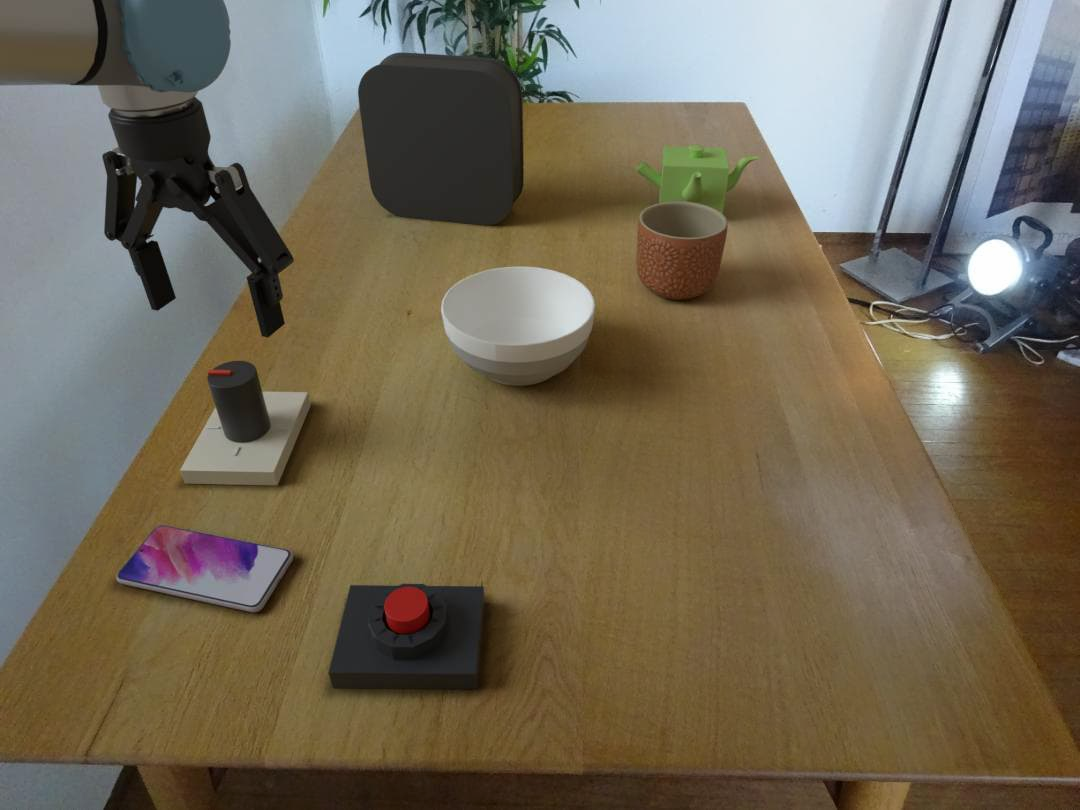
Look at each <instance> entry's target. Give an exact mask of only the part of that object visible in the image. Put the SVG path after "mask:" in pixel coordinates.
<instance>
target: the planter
mask: <svg viewBox="0 0 1080 810" xmlns="http://www.w3.org/2000/svg"><path fill="white" fill-rule="evenodd" d="M636 232H637V233H636V234H637V235H636V236H637V237H636V261H635V262H636V272H637V277H638V278H639V281H640V282H641V284H642V285H643V286H644V287H645V289H647V290H648V291H649V292H650V293H652V294H654V295H655V296H658V297H660V298H663V299H666V300H670V301H671V300H672V301H687V300H691V299H694V298H697V297H699V296H702V295H703V294H705V293H707V291H709V290H710V289H712V287H713V286H714V284H715V283H716V281H717V279H718V276H719V274H720V270H721V266H722V265H721V264H722V260H723V254H724V251H725V245H726V241H727V240H726V239H727V234H728V219H727V217H726V216H725V215H724V213H723V214H722V213H721V212H719V211H718V210H716V209H714V208H712V207H709V206H706V205H703V204H698V203H693V202H683V201H672V202H663V203H654V204H652V205H649V206H647V207H645V208H644V209H643V210H642V211H640V214H639V216H638V221H637V231H636Z"/></svg>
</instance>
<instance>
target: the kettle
mask: <svg viewBox="0 0 1080 810" xmlns="http://www.w3.org/2000/svg"><path fill="white" fill-rule="evenodd" d="M759 158H760V157H758V156H753V155H749V156H744V157H742V158H741V159H739V161H738V162H737V163H736V165H735V168H734V169H733V170H732V171H731V172H730V165H729V164H730V163H729V158H728V153H727V148H726V147H710V146H709V147H707V146H702V145H699V144H692V145H689V146H687V145H686V146H683V145H663V148H662V159H661V169H660V172H658V171H657V170H655V169H654V168H653V167H652V166H651V165H649V164H648V163H647V162H646V161H645V160H644V161H641V162H640V163H639V164H638V166H637V168H636V169H635V172H637V173H638V174H639V175H640V176H642V177H643V178H645V179H646V180H647V181H648V182H650V183H651V184H652V185H653V186H655V187H656V188H658V189H659V191H658V194H659V195H658V196H659V197H658V198H659V199H658V200H659V203H663V202H672V201H683V202H693V203H698V204H703V205H706V206H709V207H712V208H714V209H716V210H718V211H719V212H721V213H722V214H723V215H724V208H725V202H726V195H727V193H729V192H730V191H731V190H733V189H734V188H735V187H736V186H737V184H738V182H739V180H740V178H741V176H742V174H743V172H744V170H745V169H746V167H747V166H748V165H749V164H750V163H751V162H753V161H756V160H758V159H759Z"/></svg>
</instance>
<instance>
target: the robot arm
mask: <svg viewBox="0 0 1080 810" xmlns="http://www.w3.org/2000/svg"><path fill="white" fill-rule="evenodd" d="M230 22H231V21H230V16H229V12H228V9H227V5H226V3H225V1H224V0H0V86H53V85H55V86H56V85H57V86H58V85H64V86H67V85H68V86H84V87H85V86H90V87H91V86H97V89H98V91H99V95H100V97H101V100H102V101H101V102H102V103H103V104H104V105H105V106H106V107H108V108H110V109H109V112H108V115H107V116H108V120H109V123H110V125H111V127H112V128H111V129H112V131H113V134H114V138H115V140H116V141H115V142H116V143H117V147H115V148H113V149H111V150H108V151H106V152H104V153H103V154H102V156H101V157H102V161H103V165H104V170H105V173H106V188H105V190H106V191H105V209H104V210H105V212H104V226H103V227H104V229H103V233H104V236H105V237H106V239H107V240H109V241H111V242H113V241H116V240H117V241H118V242H120V244H121V246H122V247H123V248H124V249H125V250H127V251H128V254H129V257H130V259H131V262H132V265H133V269H134V271H135V273H136V275H138V277H139V278H140V281H141V283H142V286H143V289H144V292H145V294H146V298H147V300H148V303H149V305H150V308H151V310H152V311H156V312H158V311H159V310H161V309H162V308H163V309H164V307H166V306H167V305H169V304H170V303H171V302H172V301H174V300H176V299H177V297H176V296H177V295H176V294H175V291H174V288H173V287H174V286H173V285H172V282H171V279H170V275H169V272H168V269H167V266H166V262H165V260H164V256H163V254H162V251H161V248H160V245H159V242H158V240H149V239H150V238H153V237H154V236H155V234H154V233H153V231H154V228H155V227H156V226H155V225H156V223H157V221H158V219H159V217H160V216H161V213H162V211H163V209H164V208H165V209H178V210H180V211H183V212H186V213H192V214H193V215H194V216H195V217H196V218H197V219H198V220H199V221H201V222H206V223H207V224H208V225H209V227H210V228H211V229H212V230H213V231H214V232H215V233H216V234H217V236H219V238H220V239H221V240H222V241H223V242H224V243H225V245H226V246H227V247H229V249H230V250H231V251H232V252H233V254H235V256H236V257H237V258H238V259H239V260H240V262H241V263H243V265H245V267H246V268H247V269H248V270H249V271H250V274H248V275H247V276H246V277H245V278H246V281H247V285H248V289H249V293H250V296H251V300H252V304H253V308H254V312H255V317H256V319H257V323H258V327H259V331H260V335H261V337H263V338H267V339H268V338H270V337H271V336H272V335H274V334H275V333H276V332H277V331H278V330H279V329H280V328H282V327H283V326H284V325H285V318H284V314H283V311H282V305H281V301H282V300H283V297H284V294H283V290H282V286H281V281H280V277H279V274H280V273H282V272H283V271H284V270H285V269H287V268H288V267H289V266H291V265H293V263H294V260H295V259H294V256H293V255H292V252H291V251H290V250H289V248H288V246H287V245H286V243H285V242H284V240H283V238H282V237H281V235H280V234H279V232H278V230H277V229H276V227H275V226H274V224H273V223H272V221H271V219H270V217H269V216H268V214H267V213H266V211H265V209H264V207H263V206H262V205H261V203H260V201H259V200H258V198H257V197H256V195H255V194H254V192H253V190H252V189H251V187H250V184H249V181H248V178H247V175H246V171H245V169H244V166H242V164H240V163H239V162H234V163H232V164H230V165H229V166H215V165H216V164H214V163H213V161H212V159H211V157H210V155H209V154H210V153H209V147H210V143H211V139H212V137H211V136H212V135H211V132H210V128H209V125H208V121H207V116H206V112H205V109H204V106H203V102H202V101H201V100H200V99H198V97H196V96H197V94H198V92H199V91H201V90H204V89H206V88H207V87H209V86H211V85H212V84H213V83H215V81H216V80H217V79H218V78H219V77H220V75H221V74H222V73H223V70H224V69H225V67H226V64H227V62H228V59H229V56H230V51H231V44H232V43H231V29H230V25H231V23H230ZM138 179H139V181H140V187H139V189H138V192H137V183H138ZM210 199H213V202H211V203H209V204H208V202H209V201H210ZM147 240H149V241H147ZM259 259H260V261H259Z"/></svg>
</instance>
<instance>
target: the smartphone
mask: <svg viewBox="0 0 1080 810" xmlns="http://www.w3.org/2000/svg"><path fill="white" fill-rule="evenodd" d="M293 560H294V553H293V551H292V550H290V549H287V548H282V547H277V546H273V545H267V544H262V543H258V542H252V541H247V540H242V539H238V538H233V537H227V536H224V535H223V536H222V535H217V534H212V533H207V532H204V531H198V530H192V529H188V528H182V527H177V526H173V525H169V524H168V525H167V524H159V525H157V526H155V527H154V528H153V529H152V530H151V532H150V533H149V534H148V535H147V536H146V538H145V539H144V540H143V542H141V544H140V545H139V546H138V548H137V549H136V550H135V551H134V553H132V555H131V556H130V557H129V558H128V560H127V561H126V562H125V563H124V564H123V566H121V568H120V569H119V570H118V572H117V573H116V577H115V579H116V582H118V583H119V584H120V585H124V586H129V587H133V588H138V589H143V590H147V591H152V592H157V593H162V594H166V595H171V596H176V597H181V598H184V599H189V600H193V601H194V600H195V601H198V602H203V603H207V604H212V605H217V606H221V607H226V608H231V609H235V610H240V611H243V612H244V611H245V612H249V613H258V612H260V611H262V609H264V608H265V606H266V604H267V603H268V601H269V599H270V598H271V596H272V595H273V592H274V591H275V590H276V588H277V586H278V584H279V583H280V581H281V580H282V578H283V577H284V575H285V574H286V571H287V570H288V569H289V567H290V565H291V564H292V562H293Z"/></svg>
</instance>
